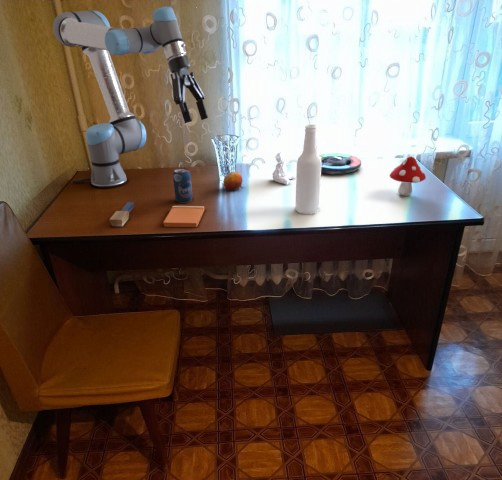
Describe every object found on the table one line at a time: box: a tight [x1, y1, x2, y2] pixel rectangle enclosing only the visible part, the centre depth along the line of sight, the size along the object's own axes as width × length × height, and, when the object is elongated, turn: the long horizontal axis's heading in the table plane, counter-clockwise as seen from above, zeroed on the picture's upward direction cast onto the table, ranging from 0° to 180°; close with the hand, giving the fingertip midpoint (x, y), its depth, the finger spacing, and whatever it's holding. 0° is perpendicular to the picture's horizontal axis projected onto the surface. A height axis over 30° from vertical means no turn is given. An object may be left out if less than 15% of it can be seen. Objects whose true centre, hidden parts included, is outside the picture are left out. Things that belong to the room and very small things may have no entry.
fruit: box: [223, 171, 243, 192], centre depth 200 cm, size 8×8×8 cm
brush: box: [109, 201, 135, 227], centre depth 179 cm, size 5×18×3 cm, turn 174°
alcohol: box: [295, 124, 322, 215], centre depth 173 cm, size 9×9×30 cm
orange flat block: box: [162, 205, 205, 228], centre depth 177 cm, size 12×16×2 cm
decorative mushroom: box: [389, 156, 427, 197], centre depth 188 cm, size 14×14×15 cm
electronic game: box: [318, 153, 362, 175], centre depth 221 cm, size 23×23×5 cm
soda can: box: [172, 167, 194, 204], centre depth 189 cm, size 7×7×12 cm
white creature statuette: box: [271, 151, 294, 185], centre depth 205 cm, size 10×9×12 cm
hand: (197, 120), depth 179 cm, fingers open, 13 cm apart
